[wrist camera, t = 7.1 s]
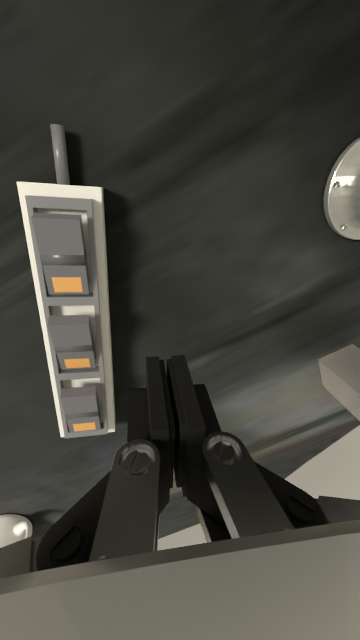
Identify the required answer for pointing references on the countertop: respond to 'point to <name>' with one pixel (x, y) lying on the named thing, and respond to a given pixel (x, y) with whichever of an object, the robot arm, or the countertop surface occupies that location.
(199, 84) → the countertop surface
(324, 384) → the soap dispenser
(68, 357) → the rocker
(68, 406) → the rocker
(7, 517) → the mug
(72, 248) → the rocker
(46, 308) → the power strip
